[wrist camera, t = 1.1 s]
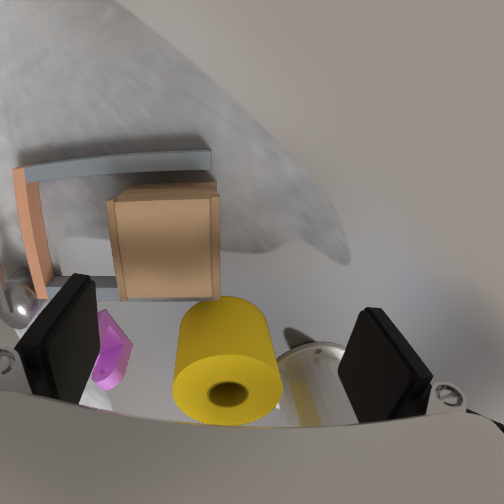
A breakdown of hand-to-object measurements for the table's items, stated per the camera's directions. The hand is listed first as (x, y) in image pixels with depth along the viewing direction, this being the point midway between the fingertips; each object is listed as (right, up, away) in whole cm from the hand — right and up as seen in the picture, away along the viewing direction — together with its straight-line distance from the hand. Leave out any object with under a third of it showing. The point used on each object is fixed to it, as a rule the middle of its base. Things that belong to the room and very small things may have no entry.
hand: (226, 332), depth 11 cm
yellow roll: (-2, -6, +25) cm, 26 cm away
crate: (-6, +5, +20) cm, 22 cm away
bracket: (-20, -9, +24) cm, 33 cm away
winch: (-25, 0, +20) cm, 32 cm away
